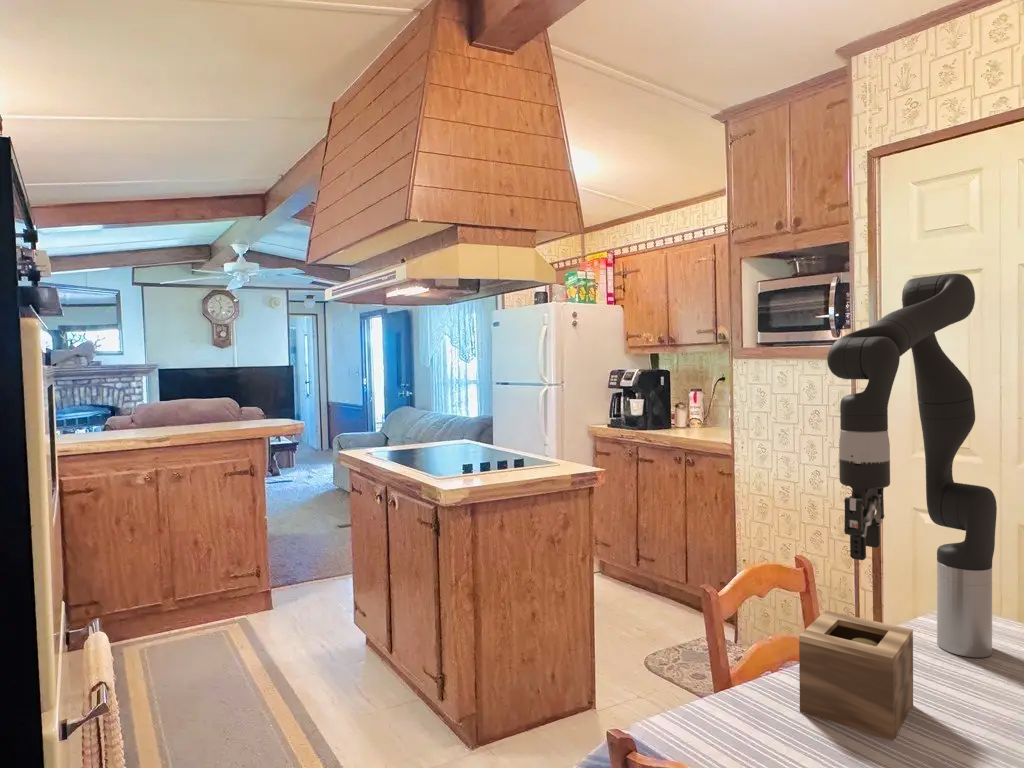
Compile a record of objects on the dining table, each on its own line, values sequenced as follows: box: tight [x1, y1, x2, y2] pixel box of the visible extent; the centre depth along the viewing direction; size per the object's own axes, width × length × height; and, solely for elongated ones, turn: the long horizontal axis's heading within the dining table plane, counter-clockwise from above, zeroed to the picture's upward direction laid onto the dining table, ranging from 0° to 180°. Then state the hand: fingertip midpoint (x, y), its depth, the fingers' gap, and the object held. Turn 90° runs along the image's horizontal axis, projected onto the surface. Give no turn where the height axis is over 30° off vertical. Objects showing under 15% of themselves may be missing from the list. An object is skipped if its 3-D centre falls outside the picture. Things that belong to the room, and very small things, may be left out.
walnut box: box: [798, 610, 914, 742], centre depth 114 cm, size 14×14×13 cm
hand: (865, 552), depth 113 cm, fingers open, 8 cm apart
